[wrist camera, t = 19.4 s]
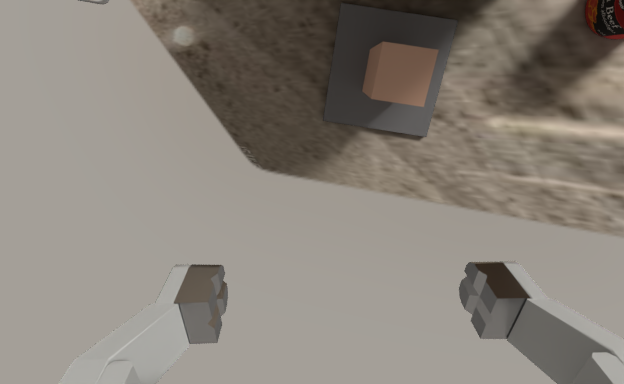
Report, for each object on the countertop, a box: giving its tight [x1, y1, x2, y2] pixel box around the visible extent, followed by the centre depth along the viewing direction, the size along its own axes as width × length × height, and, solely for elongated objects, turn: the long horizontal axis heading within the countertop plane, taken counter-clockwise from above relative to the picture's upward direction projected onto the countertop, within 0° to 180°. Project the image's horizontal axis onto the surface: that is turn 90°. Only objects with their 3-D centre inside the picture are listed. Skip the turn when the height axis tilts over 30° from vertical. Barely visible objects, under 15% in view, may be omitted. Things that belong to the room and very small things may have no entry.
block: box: [362, 41, 439, 107], centre depth 35 cm, size 5×5×12 cm
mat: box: [323, 3, 458, 137], centre depth 41 cm, size 14×14×1 cm
